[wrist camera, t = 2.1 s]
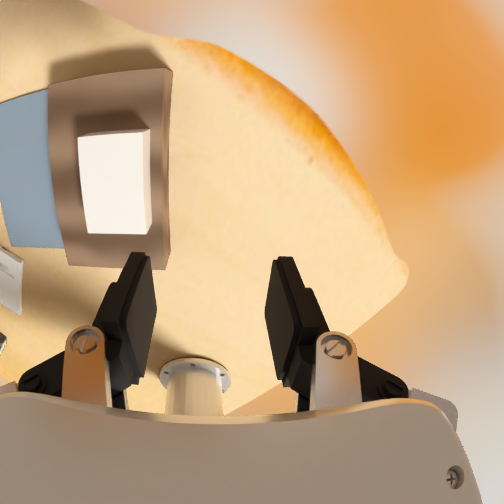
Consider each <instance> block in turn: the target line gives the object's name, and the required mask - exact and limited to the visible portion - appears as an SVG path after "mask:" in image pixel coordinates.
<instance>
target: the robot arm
mask: <svg viewBox="0 0 504 504" xmlns="http://www.w3.org/2000/svg"><path fill="white" fill-rule="evenodd" d="M156 313H157V306H156V299H155V292H154V284H153V277H152V268H151V259H150V256H146V254H145V252H131V253H130V255H129V257H128V259H127V262H126V264H125V266H124V268H123V270H122V272H121V274H120V277H119V279H118V281H117V282H112V283H111V284H110V286H109V288H108V290H107V292H106V294H105V297H104V299H103V301H102V303H101V306H100V308H99V310H98V312H97V315H96V317H95V320H94V322H93V324H92V326H82V327H79V328H77V329H75V330H74V331H72V332H71V333H70V334H69V336H68V337H67V340H66V346H65V351H63V352H61V353H59V354H57V355H55V356H54V357H52V358H50V359H48V360H46V361H44V362H42V363H41V364H39V365H37V366H35V367H33V368H31V369H29V370H28V371H26V372H25V373H24V374H23V375H22V376H21V378H20V380H19V383H16V382H15V381H13V382H11V383H8V384H6V385H4V386H1V387H0V504H482V500H481V496H480V493H479V489H478V486H477V483H476V480H475V477H474V474H473V471H472V468H471V466H470V463H469V460H468V458H467V455H466V453H465V451H464V448H463V446H462V444H461V442H460V439H459V437H458V435H457V433H456V427H457V418H458V414H457V409H456V407H455V406H454V404H452V402H450V401H448V400H446V399H443V398H440V397H437V396H434V395H431V394H428V393H426V392H423V391H420V390H417V389H414V388H412V389H411V390H408V388H407V386H406V384H405V383H404V382H403V381H402V380H401V379H400V378H398V377H397V376H395V375H393V374H391V373H389V372H387V371H385V370H383V369H381V368H379V367H377V366H375V365H373V364H371V363H369V362H368V361H366V360H364V359H362V358H360V357H358V356H357V349H356V345H355V343H354V342H353V340H352V339H350V338H349V337H348V336H347V335H345V334H343V333H340V332H333V331H330V330H329V328H328V326H327V323H326V321H325V318H324V316H323V314H322V311H321V309H320V306H319V304H318V302H317V299H316V297H315V295H314V292H313V290H312V289H311V288H305V286H304V284H303V281H302V279H301V276H300V274H299V271H298V269H297V266H296V264H295V262H294V259H293V257H285V256H279V257H278V259H277V260H273V263H272V269H271V275H270V281H269V287H268V293H267V299H266V305H265V320H266V325H267V330H268V335H269V340H270V345H271V350H272V355H273V360H274V365H275V370H276V376H277V379H278V380H282V383H283V387H290V388H291V389H292V390H294V391H296V398H295V408H294V413H284V414H272V415H254V416H224V415H223V396H222V393H224V392H225V391H226V390H227V389H228V388H229V387H230V383H231V379H230V374H229V373H228V371H227V370H226V369H225V368H224V367H223V366H221V365H219V364H217V363H215V362H213V361H209V360H206V359H200V358H181V359H176V360H173V361H171V362H169V363H167V364H165V365H164V366H163V367H162V369H161V371H160V382H161V384H162V385H163V386H164V387H165V388H166V389H167V396H166V407H165V414H159V413H148V412H139V411H131V410H129V408H128V400H127V393H126V388H128V387H130V386H131V384H135V385H138V384H139V378H140V377H142V378H143V377H144V374H145V369H146V363H147V358H148V352H149V347H150V342H151V337H152V332H153V327H154V323H155V318H156Z"/></svg>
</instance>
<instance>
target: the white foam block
mask: <svg viewBox="0 0 504 504" xmlns="http://www.w3.org/2000/svg"><path fill="white" fill-rule="evenodd" d="M78 156H79V170H80V181H81V190H82V198H83V206H84V213H85V219H86V225H87V231H88V233H101V234H147V232H148V230H149V228H150V226H151V224H152V210H151V186H150V129H135V130H118V131H106V132H95V133H89V134H86V135H83V136H80V137H78Z"/></svg>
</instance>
